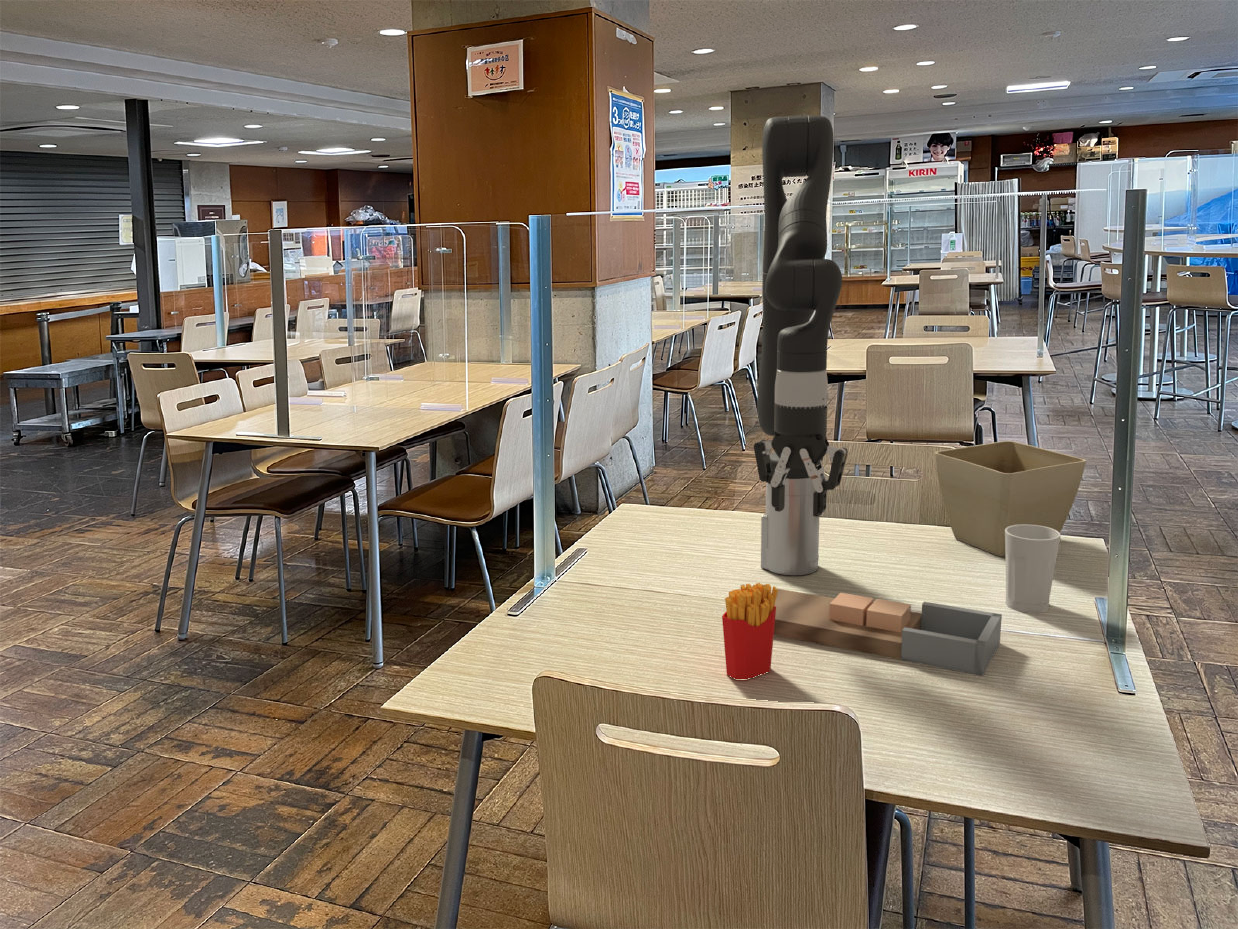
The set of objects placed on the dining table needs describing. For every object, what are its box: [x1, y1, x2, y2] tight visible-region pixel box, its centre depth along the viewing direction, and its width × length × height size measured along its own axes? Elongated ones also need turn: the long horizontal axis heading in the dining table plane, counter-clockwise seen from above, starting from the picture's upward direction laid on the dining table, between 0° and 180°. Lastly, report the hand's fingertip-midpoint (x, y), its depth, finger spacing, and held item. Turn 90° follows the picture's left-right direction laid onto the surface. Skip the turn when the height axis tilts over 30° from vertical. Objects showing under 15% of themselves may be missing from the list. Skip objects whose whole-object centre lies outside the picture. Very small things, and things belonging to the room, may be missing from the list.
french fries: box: [721, 582, 779, 679], centre depth 137 cm, size 8×4×12 cm, turn 124°
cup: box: [1005, 525, 1061, 614], centre depth 158 cm, size 8×8×12 cm
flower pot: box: [934, 440, 1087, 557], centre depth 187 cm, size 19×19×17 cm
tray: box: [901, 601, 1003, 676], centre depth 143 cm, size 11×12×4 cm
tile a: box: [829, 592, 874, 626], centre depth 150 cm, size 5×5×2 cm
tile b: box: [866, 598, 912, 633], centre depth 147 cm, size 5×5×2 cm
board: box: [774, 588, 922, 661], centre depth 152 cm, size 23×12×2 cm, turn 60°
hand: (798, 512), depth 151 cm, fingers open, 5 cm apart
